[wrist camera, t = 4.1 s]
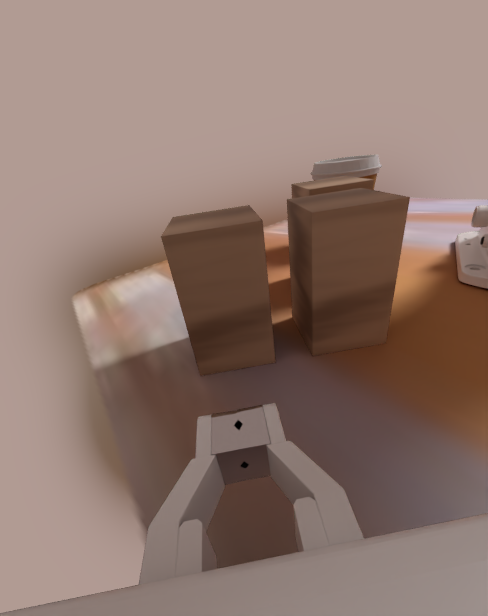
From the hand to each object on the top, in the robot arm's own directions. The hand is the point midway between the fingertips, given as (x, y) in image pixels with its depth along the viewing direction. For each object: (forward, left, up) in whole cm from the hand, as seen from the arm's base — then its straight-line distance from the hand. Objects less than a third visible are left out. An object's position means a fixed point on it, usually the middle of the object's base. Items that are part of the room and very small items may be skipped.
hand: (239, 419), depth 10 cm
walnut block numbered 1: (-15, +2, -6) cm, 16 cm away
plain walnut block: (-11, -6, -6) cm, 13 cm away
